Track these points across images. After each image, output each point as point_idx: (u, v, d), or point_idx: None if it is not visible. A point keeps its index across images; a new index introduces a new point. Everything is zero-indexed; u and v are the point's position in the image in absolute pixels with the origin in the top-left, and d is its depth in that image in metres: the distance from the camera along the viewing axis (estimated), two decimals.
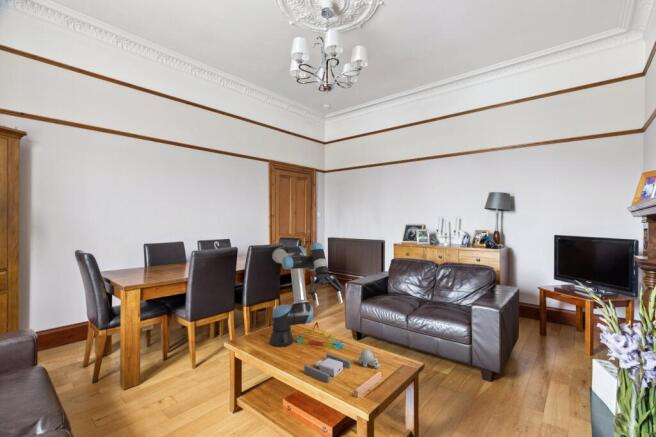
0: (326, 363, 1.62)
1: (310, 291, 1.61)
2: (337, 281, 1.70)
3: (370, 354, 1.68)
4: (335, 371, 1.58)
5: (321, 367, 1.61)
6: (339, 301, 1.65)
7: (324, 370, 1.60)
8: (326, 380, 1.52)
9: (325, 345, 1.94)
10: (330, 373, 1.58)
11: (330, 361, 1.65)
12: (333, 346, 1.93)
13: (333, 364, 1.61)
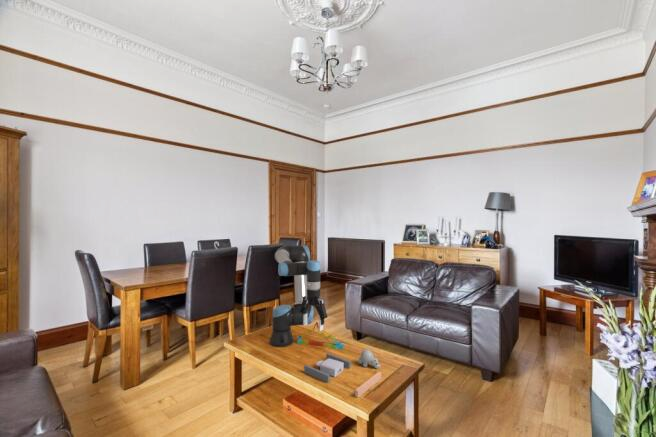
0: (327, 363, 1.62)
1: (300, 311, 1.76)
2: (321, 308, 1.66)
3: (370, 354, 1.68)
4: (336, 371, 1.58)
5: (322, 367, 1.61)
6: None
7: (325, 370, 1.60)
8: (326, 380, 1.52)
9: (325, 345, 1.94)
10: (331, 373, 1.58)
11: (331, 361, 1.65)
12: (333, 346, 1.92)
13: (334, 364, 1.61)
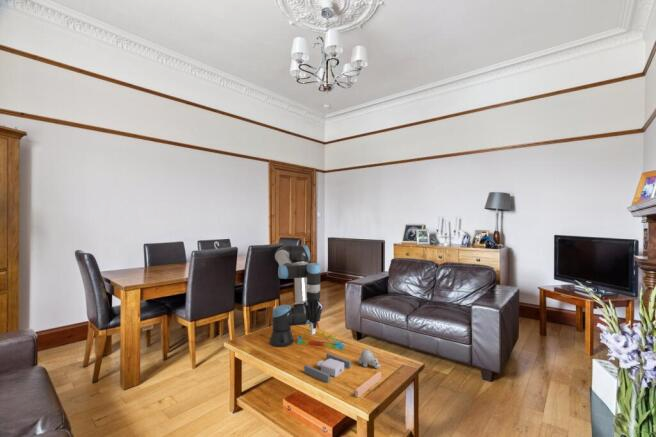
0: (327, 363, 1.62)
1: (307, 319, 1.72)
2: (317, 313, 1.68)
3: (370, 354, 1.68)
4: (336, 371, 1.58)
5: (322, 367, 1.61)
6: None
7: (325, 370, 1.60)
8: (326, 380, 1.52)
9: (325, 345, 1.94)
10: (331, 373, 1.58)
11: (331, 361, 1.65)
12: (333, 346, 1.92)
13: (334, 364, 1.61)
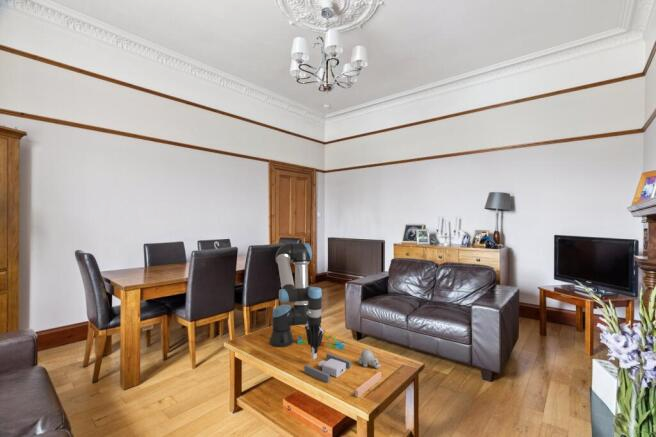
0: (329, 363, 1.62)
1: (308, 343, 1.71)
2: (318, 338, 1.67)
3: (370, 354, 1.68)
4: (337, 371, 1.58)
5: (324, 367, 1.61)
6: None
7: (327, 370, 1.60)
8: (326, 380, 1.52)
9: (326, 345, 1.94)
10: (332, 373, 1.58)
11: (333, 361, 1.64)
12: (334, 346, 1.92)
13: (336, 364, 1.61)
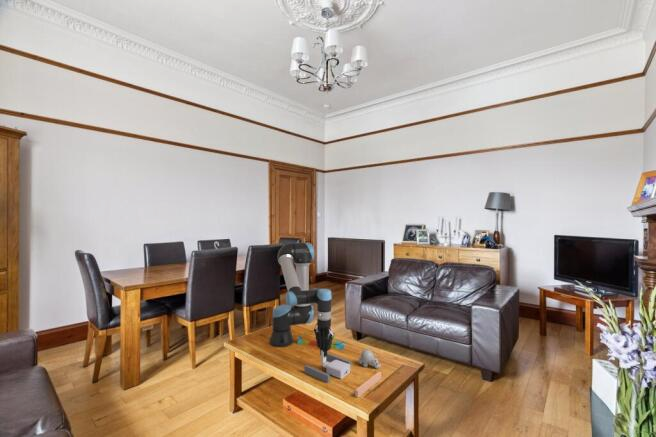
0: (333, 364, 1.61)
1: (318, 346, 1.67)
2: (328, 341, 1.63)
3: (370, 354, 1.68)
4: (342, 373, 1.56)
5: (328, 368, 1.60)
6: None
7: (331, 371, 1.59)
8: (326, 380, 1.52)
9: None
10: (337, 375, 1.56)
11: (337, 362, 1.63)
12: (334, 346, 1.92)
13: (340, 366, 1.59)
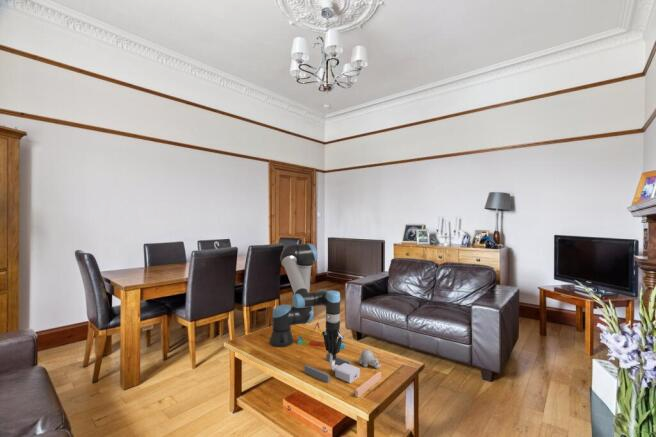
0: (342, 368, 1.57)
1: (326, 349, 1.63)
2: (337, 344, 1.59)
3: (370, 354, 1.68)
4: (351, 377, 1.52)
5: (337, 372, 1.56)
6: None
7: (340, 375, 1.55)
8: (326, 380, 1.52)
9: None
10: (346, 379, 1.53)
11: (347, 366, 1.59)
12: None
13: (349, 369, 1.56)
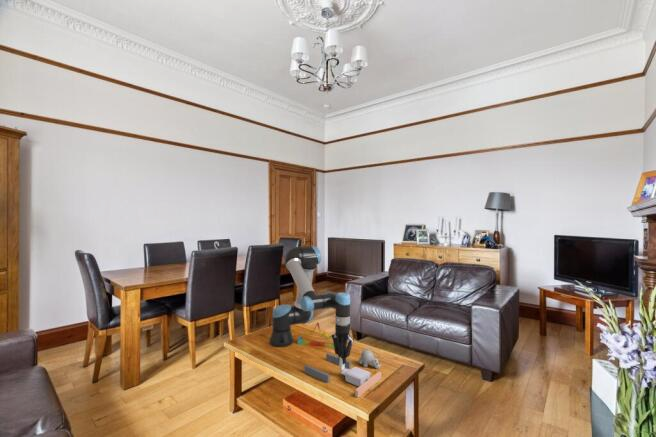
0: (352, 372, 1.53)
1: (336, 353, 1.59)
2: (347, 347, 1.55)
3: (371, 354, 1.67)
4: (362, 381, 1.48)
5: (347, 376, 1.52)
6: None
7: (350, 380, 1.51)
8: (326, 380, 1.52)
9: (326, 345, 1.93)
10: (356, 383, 1.49)
11: (357, 370, 1.55)
12: None
13: (360, 374, 1.52)
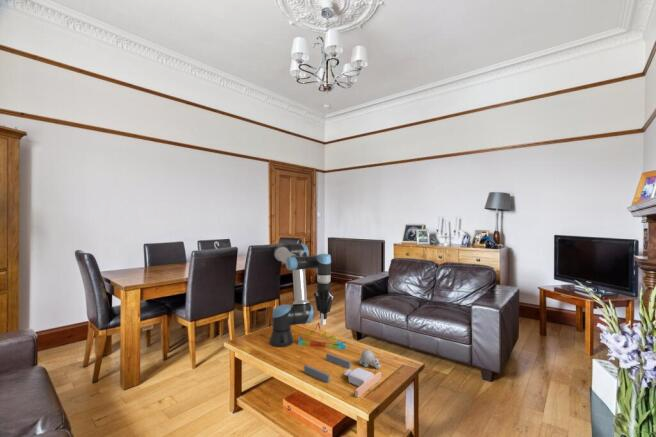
0: (355, 373, 1.52)
1: (317, 309, 1.71)
2: (328, 303, 1.67)
3: (371, 354, 1.67)
4: None
5: (350, 377, 1.51)
6: None
7: (353, 381, 1.50)
8: (326, 380, 1.52)
9: (327, 346, 1.93)
10: (359, 384, 1.48)
11: (360, 371, 1.54)
12: (335, 346, 1.92)
13: (363, 375, 1.51)
